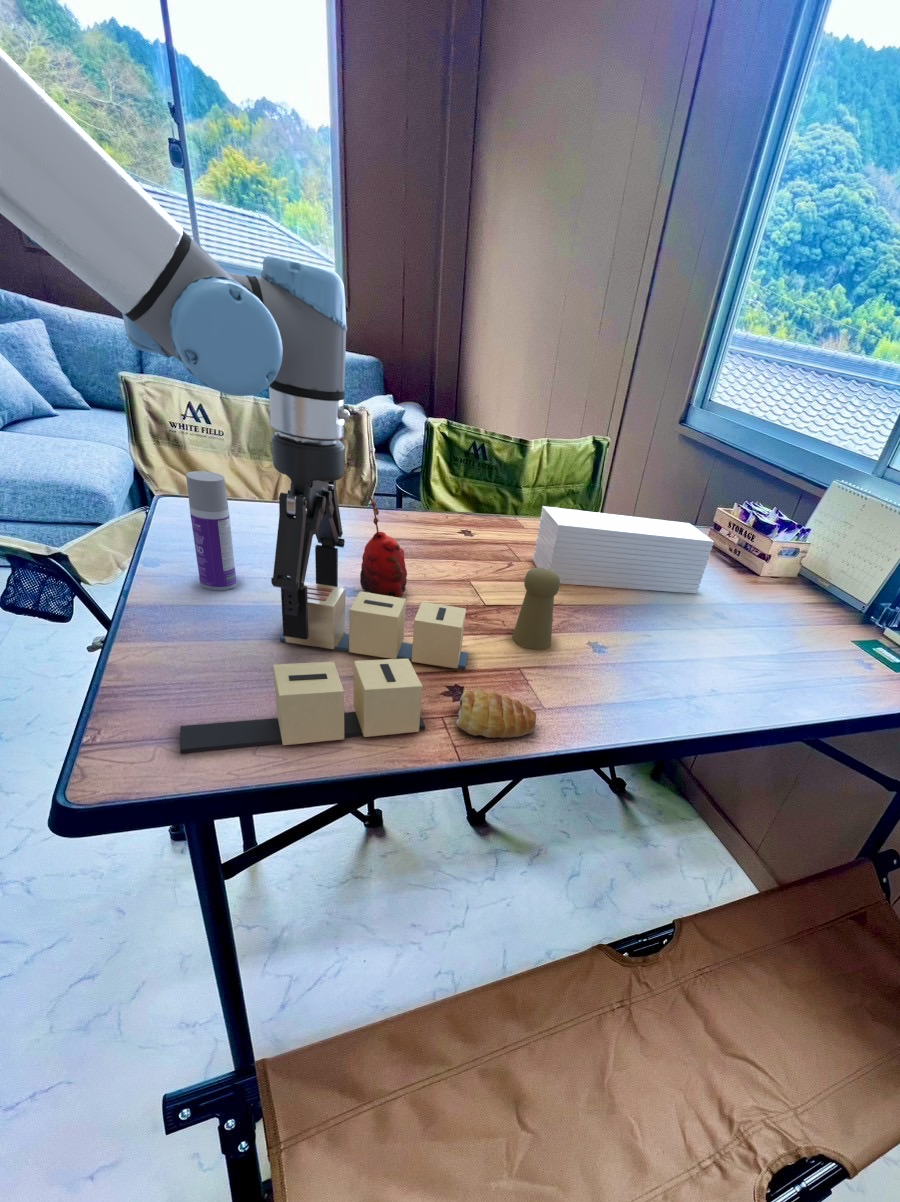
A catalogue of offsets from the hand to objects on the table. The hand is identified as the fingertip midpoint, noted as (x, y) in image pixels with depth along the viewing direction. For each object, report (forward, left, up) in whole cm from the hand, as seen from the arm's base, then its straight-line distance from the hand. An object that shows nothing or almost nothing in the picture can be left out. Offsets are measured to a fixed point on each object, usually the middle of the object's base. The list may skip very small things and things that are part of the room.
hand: (312, 613), depth 80 cm
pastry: (+24, -14, -4) cm, 28 cm away
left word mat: (+5, -20, -4) cm, 21 cm away
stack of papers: (+46, +44, -4) cm, 64 cm away
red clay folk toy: (+5, +19, -4) cm, 20 cm away
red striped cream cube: (0, 0, -3) cm, 3 cm away
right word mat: (+8, 0, -4) cm, 9 cm away
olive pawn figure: (+29, +10, -4) cm, 31 cm away
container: (-17, +12, -4) cm, 21 cm away
